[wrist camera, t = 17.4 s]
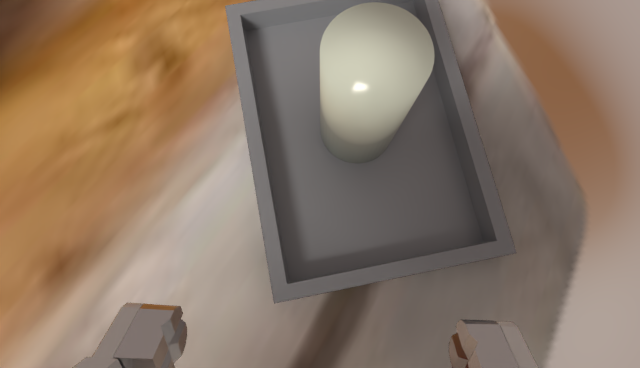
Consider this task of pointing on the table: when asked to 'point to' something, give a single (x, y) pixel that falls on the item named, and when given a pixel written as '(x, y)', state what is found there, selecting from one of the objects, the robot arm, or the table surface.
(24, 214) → the table surface
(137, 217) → the table surface
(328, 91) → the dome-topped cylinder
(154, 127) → the table surface
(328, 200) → the grey tray
